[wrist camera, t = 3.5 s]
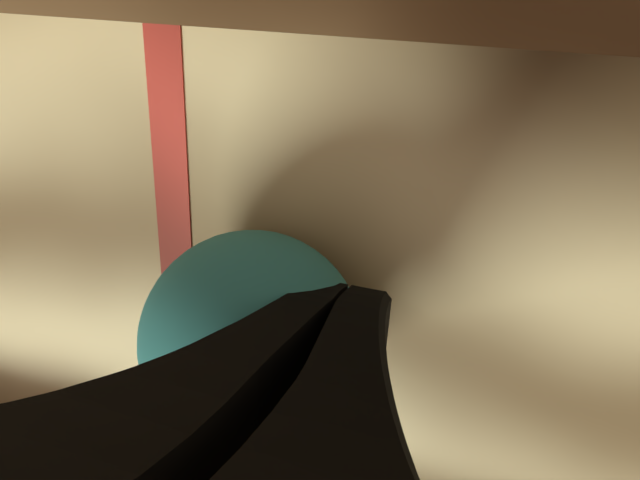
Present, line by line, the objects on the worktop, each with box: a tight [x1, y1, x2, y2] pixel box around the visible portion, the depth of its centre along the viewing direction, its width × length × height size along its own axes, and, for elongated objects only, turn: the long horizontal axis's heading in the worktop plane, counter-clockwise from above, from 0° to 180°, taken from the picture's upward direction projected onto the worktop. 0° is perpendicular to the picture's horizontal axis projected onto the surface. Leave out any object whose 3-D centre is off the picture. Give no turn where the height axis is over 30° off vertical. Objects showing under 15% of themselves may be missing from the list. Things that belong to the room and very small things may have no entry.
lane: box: [0, 0, 640, 480], centre depth 12 cm, size 13×28×3 cm, turn 88°
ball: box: [137, 230, 349, 365], centre depth 10 cm, size 4×4×4 cm
